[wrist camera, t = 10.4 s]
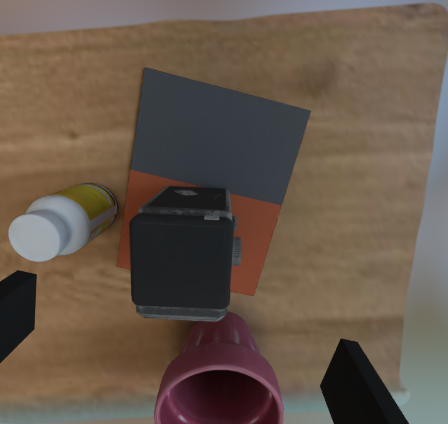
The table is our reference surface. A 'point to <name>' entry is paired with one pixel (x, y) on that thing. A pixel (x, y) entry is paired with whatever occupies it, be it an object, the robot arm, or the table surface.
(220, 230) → the camera
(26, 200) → the table surface
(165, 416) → the flower pot
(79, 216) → the pill bottle
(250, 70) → the table surface
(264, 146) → the desk mat
